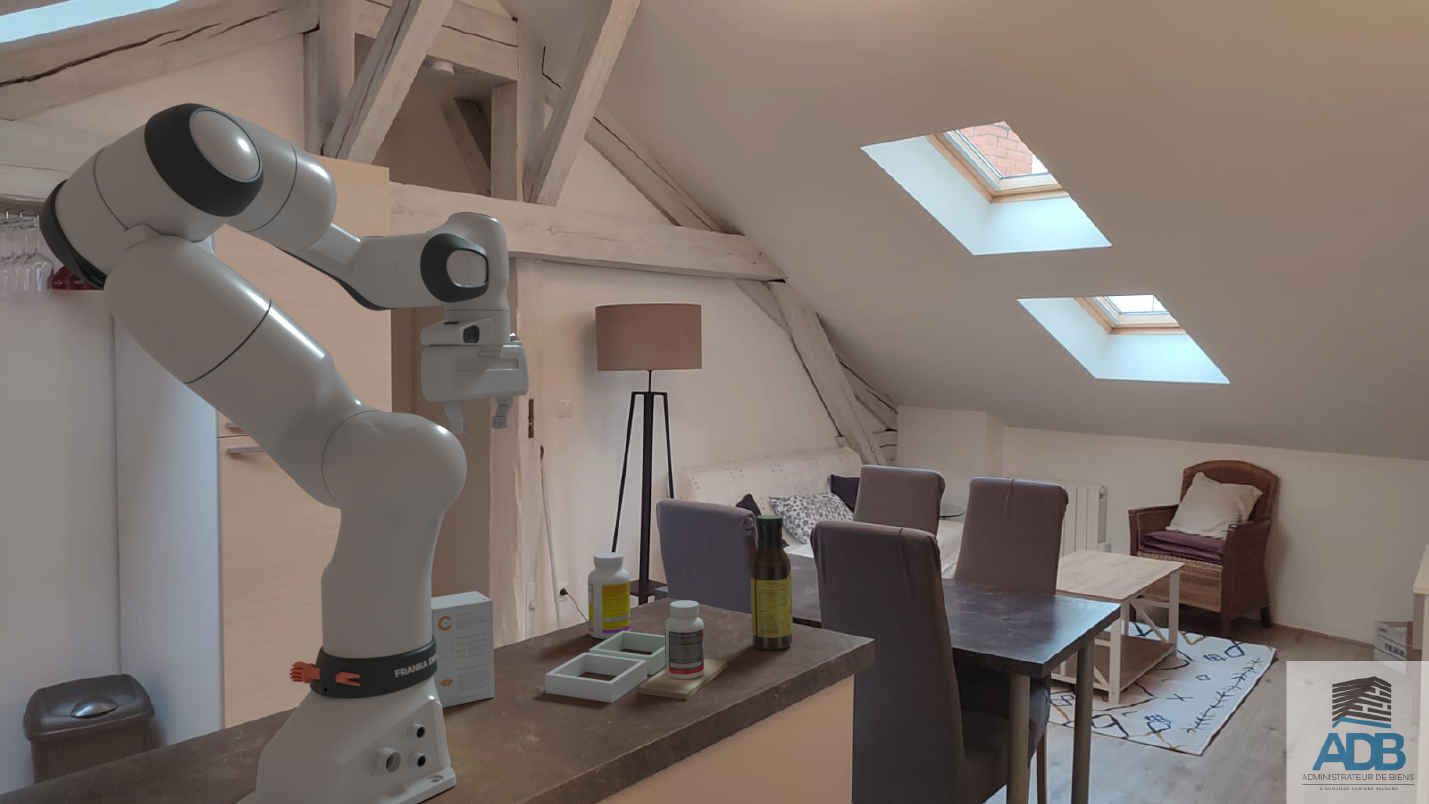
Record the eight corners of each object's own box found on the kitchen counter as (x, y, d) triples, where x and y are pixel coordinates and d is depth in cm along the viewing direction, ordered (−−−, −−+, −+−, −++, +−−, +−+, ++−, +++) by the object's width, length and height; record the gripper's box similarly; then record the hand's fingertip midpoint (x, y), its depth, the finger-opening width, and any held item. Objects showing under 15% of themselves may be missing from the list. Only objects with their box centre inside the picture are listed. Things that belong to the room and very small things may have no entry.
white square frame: (612, 702, 124) (611, 683, 124) (545, 692, 128) (545, 674, 128) (647, 678, 134) (647, 660, 133) (584, 669, 137) (583, 652, 137)
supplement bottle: (639, 632, 156) (638, 553, 155) (613, 643, 150) (612, 561, 149) (606, 626, 159) (605, 549, 158) (580, 636, 154) (578, 556, 153)
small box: (479, 684, 132) (477, 589, 131) (495, 698, 127) (493, 599, 126) (419, 696, 127) (417, 598, 127) (434, 711, 122) (431, 609, 121)
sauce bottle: (800, 646, 147) (800, 517, 146) (768, 654, 144) (768, 521, 143) (774, 636, 153) (773, 511, 152) (742, 644, 149) (742, 515, 148)
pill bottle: (712, 675, 132) (711, 604, 132) (679, 683, 129) (678, 611, 129) (690, 664, 137) (689, 596, 136) (658, 672, 134) (657, 602, 133)
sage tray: (652, 675, 135) (651, 657, 135) (589, 666, 139) (589, 649, 139) (682, 654, 144) (681, 637, 144) (622, 646, 148) (622, 630, 148)
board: (686, 699, 125) (686, 693, 125) (638, 692, 128) (638, 687, 128) (727, 667, 138) (727, 661, 138) (682, 661, 141) (682, 656, 141)
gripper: (502, 333, 146) (504, 425, 146) (411, 331, 127) (413, 436, 128) (538, 333, 143) (540, 426, 144) (450, 330, 124) (453, 437, 125)
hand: (480, 431), depth 136 cm, fingers open, 8 cm apart
